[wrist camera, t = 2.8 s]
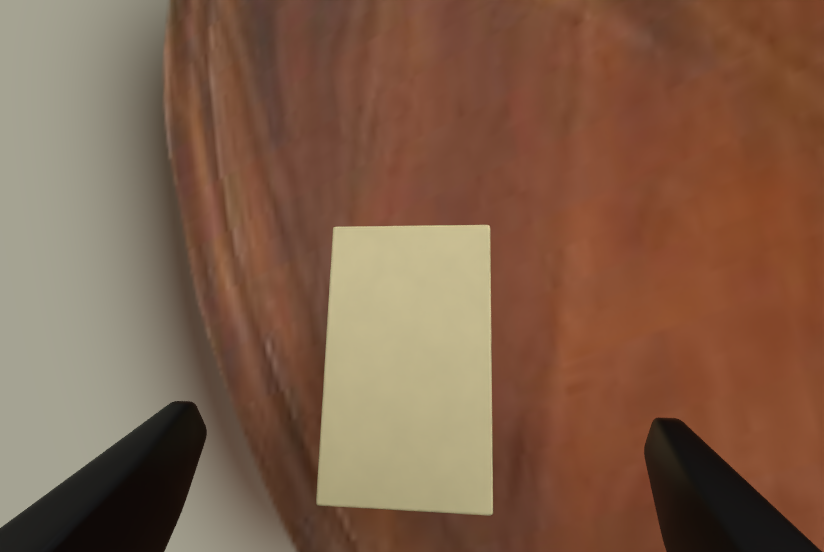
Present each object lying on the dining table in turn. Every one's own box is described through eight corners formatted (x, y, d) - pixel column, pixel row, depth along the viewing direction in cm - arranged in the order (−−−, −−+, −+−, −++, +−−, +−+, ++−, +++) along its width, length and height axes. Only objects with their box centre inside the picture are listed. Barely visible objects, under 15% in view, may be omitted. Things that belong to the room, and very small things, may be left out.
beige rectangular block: (478, 438, 17) (492, 516, 8) (397, 435, 18) (314, 505, 8) (477, 304, 18) (490, 223, 9) (401, 304, 19) (332, 225, 9)
